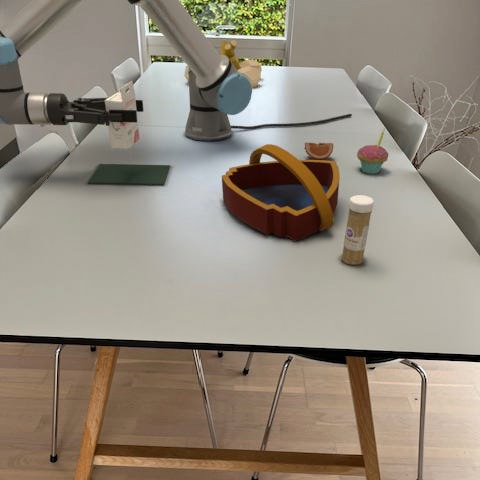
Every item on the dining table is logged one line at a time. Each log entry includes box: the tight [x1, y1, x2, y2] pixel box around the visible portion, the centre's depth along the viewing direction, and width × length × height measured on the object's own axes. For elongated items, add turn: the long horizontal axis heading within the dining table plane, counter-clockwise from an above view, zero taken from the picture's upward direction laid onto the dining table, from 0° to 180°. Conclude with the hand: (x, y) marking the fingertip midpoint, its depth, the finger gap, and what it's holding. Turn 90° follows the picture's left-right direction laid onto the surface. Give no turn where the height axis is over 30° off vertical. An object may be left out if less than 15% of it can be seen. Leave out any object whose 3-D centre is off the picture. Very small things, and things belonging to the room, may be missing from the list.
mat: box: [87, 163, 171, 186], centre depth 147 cm, size 20×14×1 cm
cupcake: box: [356, 128, 389, 175], centre depth 149 cm, size 9×8×12 cm
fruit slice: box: [304, 142, 334, 161], centre depth 159 cm, size 8×7×5 cm
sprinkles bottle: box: [341, 194, 375, 266], centre depth 107 cm, size 5×5×13 cm
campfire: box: [183, 39, 263, 89], centre depth 236 cm, size 35×34×17 cm
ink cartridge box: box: [105, 80, 140, 150], centre depth 136 cm, size 9×5×15 cm, turn 169°
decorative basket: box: [221, 143, 340, 242], centre depth 127 cm, size 34×29×15 cm
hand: (139, 111), depth 135 cm, fingers closed on ink cartridge box, 9 cm apart
